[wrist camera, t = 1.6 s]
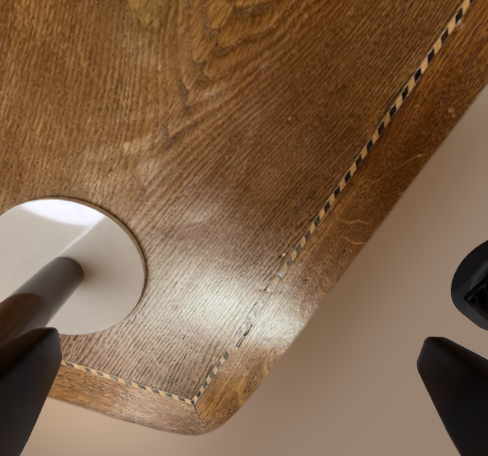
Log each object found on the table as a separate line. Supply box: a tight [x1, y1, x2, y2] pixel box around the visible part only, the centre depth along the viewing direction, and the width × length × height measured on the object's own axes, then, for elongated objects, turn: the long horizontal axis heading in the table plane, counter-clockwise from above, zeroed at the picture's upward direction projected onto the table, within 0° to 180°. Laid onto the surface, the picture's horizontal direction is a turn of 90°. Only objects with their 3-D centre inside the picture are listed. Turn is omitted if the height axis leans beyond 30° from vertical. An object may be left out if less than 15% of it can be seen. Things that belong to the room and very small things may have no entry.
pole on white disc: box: [0, 197, 146, 346], centre depth 15 cm, size 10×10×11 cm
